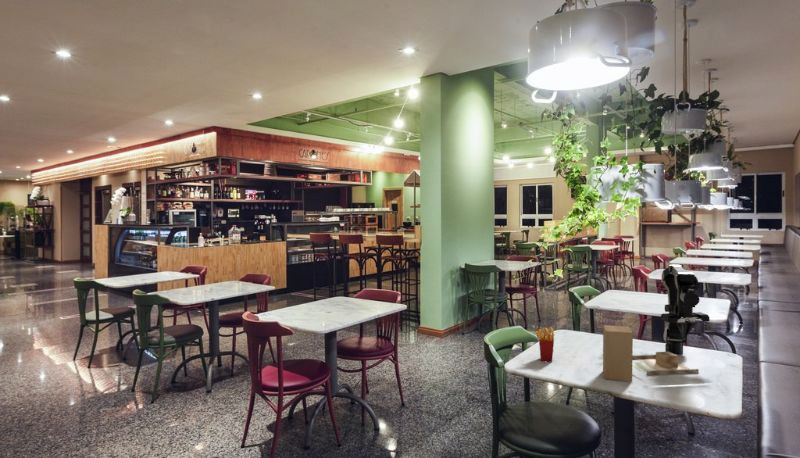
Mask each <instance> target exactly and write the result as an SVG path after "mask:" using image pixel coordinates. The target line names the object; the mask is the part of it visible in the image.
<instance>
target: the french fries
mask: <svg viewBox="0 0 800 458" xmlns="http://www.w3.org/2000/svg"><path fill="white" fill-rule="evenodd" d="M549 329H550V331H551V332H549ZM549 329H548V328H547V327H544V328H541V329H540V328H539V329H537V330H536V331H535V334H536V336H537V337H538V343H539V354H540V361H541V362H543V361H546V362H547V363H552V362H553V355H554V346H555V345H554V343H555V338H554V336H555V334H554V333H555V331H554V329H553V326H550V327H549Z"/></svg>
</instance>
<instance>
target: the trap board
mask: <svg viewBox="0 0 800 458" xmlns="http://www.w3.org/2000/svg"><path fill="white" fill-rule="evenodd" d="M632 360H637V362H635V361H634V362H632V368H635V369H637V370H638V371H641V372H645V371H646V375H647V376H662V375H684V374H687V375H688V374H699V370H700V369H699V368H690V367H687V366H686V365H683V364H681V363H679V362H678V367H677V368H664V367H662V366H660V365H658V364H656V353H655V354H634V355H633V357H632Z"/></svg>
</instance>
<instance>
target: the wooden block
mask: <svg viewBox="0 0 800 458" xmlns="http://www.w3.org/2000/svg"><path fill="white" fill-rule="evenodd" d="M602 327H603V328H602V332H603V333H602V372H603V375H604V379H605V380H611V381H620V382H621V381H622V382H630V383H631V382H633V366H632V363H633V359H632V357H633V350H634V349H633V346H634V345H633V342H634V341H633V340H634V334H633V331H632V329H631V328H630V327H629V326H626V325H625V326H623V325H621V326H620V325H608V324H607V325H606V324H604V325H603V326H602Z"/></svg>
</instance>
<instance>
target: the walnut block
mask: <svg viewBox="0 0 800 458" xmlns="http://www.w3.org/2000/svg"><path fill="white" fill-rule="evenodd" d="M655 354H656V364H658V365H660V366H662V367H664V368H677V367H678V363H679V356H678V354H673V353H671V352H665V351H655Z"/></svg>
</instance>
